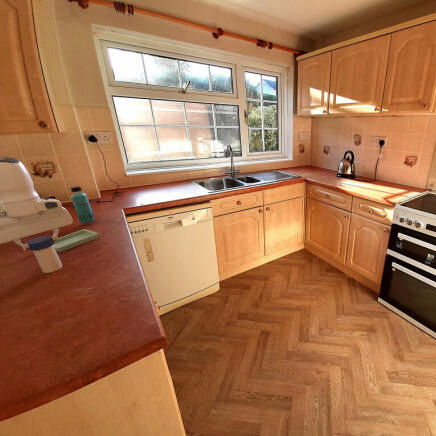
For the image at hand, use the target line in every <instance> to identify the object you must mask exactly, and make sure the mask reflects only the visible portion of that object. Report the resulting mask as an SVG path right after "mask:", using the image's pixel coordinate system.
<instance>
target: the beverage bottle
mask: <svg viewBox="0 0 436 436" xmlns="http://www.w3.org/2000/svg"><path fill="white" fill-rule="evenodd" d="M70 191H71V193H73V194H71V196H70V198H71V201H72V204H73V207H74V210H75V213H76V216H77V219H78V221H79V223H80V224H88V223H92V222H94V221H96V217H95V215H94V211H93V209H92V206H91V203H90V201H89V198H88V196H87V194H86V193H85V192H82V191H83V189H82V186H79V185H78V186H72V187H71V188H70Z"/></svg>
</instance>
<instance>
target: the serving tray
mask: <svg viewBox="0 0 436 436" xmlns="http://www.w3.org/2000/svg"><path fill="white" fill-rule="evenodd" d="M99 238H100V234H99V233H98V232H95V231H92V230H89V229H85V228H84V229H81V230H78V231H75V232H72V233H69V234H66V235H64V236H60V237H58V239H59V240H57V241H54V244H53V245H54V248H55V250H56V252H57V253H62V252H65V251H68V250H70V249H73V248H75V247H77V246H80V245H83V244H86V243H89V242H91V241H94V240H96V239H99Z"/></svg>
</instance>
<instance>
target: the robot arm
mask: <svg viewBox="0 0 436 436" xmlns="http://www.w3.org/2000/svg"><path fill="white" fill-rule="evenodd" d="M0 205H1V208H2V209H3V211H2V212H0V245H2V244H5V243H9V242H14V244H16V245H17V246H20V247H21V248H22V250H23V251H28V250H30V247H29V245H28V244H27V242H26V243H22V240H21V239H24V238H27V237H31V236H33V235H38V234H41V233H44V232H45V233H46V232H49V231H52V232H53V233H52V235H50V236H51V237H52V239H53V242H54V241H57V240H59V239H58V238H59V237H58V236H59V234H60V233H59V232H60V228H62V227H66V226H70V225H73V222H74V220H73V218H72V215H71V214H70V212H69V211H68V210H67V209H66V208H65V207H63V206H62V202H61V201H60V200H58V199H56V198H41V197H40V195H39V193H38V192H37V191H36V190H35V187H34V181H33V179H32V177H31V175H30V173H29V170H28V169H27V168H26V167H25V165H24V164H23V162H21V160H19V159H17V158H14V157H9V156H8V157H7V156H0Z"/></svg>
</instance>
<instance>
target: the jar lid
mask: <svg viewBox="0 0 436 436" xmlns="http://www.w3.org/2000/svg"><path fill="white" fill-rule="evenodd" d="M51 236H52V235H43V236H38V237H34V238H32V239H29V240H28V241H26V243H27V244H28V245H29V247H30V249H29V251H30V252H33V251H36V250H41V249H45V248H48V247H50V246H52V245H53V244H54V242H53V239H52V237H51Z"/></svg>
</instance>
